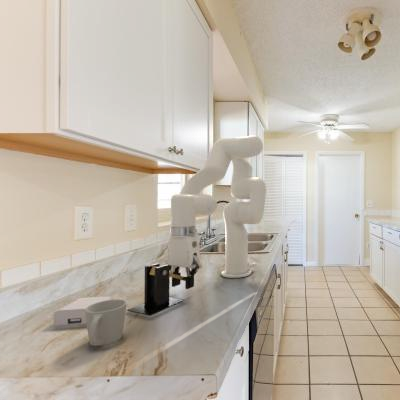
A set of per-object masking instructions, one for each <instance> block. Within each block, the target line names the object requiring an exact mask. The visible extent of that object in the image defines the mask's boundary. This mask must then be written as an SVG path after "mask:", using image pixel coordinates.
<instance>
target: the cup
mask: <svg viewBox="0 0 400 400" xmlns="http://www.w3.org/2000/svg"><path fill="white" fill-rule="evenodd" d="M126 312H127V301H126V300H125V299H117V298H115V299H113V300H106V301H102V302H98V303H95V304H92V305H90V306H88V307H87V308H86V309H85V314H86V323H87V324H86V329H87V335H88V341H89V344H90V346H93V347H99V346H100V347H101V346H102V347H103V346H107V345H110V344H113V343H115V342H118V341H119V340H120V339H121V338H122V337H123V331H124V325H125V320H126Z"/></svg>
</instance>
